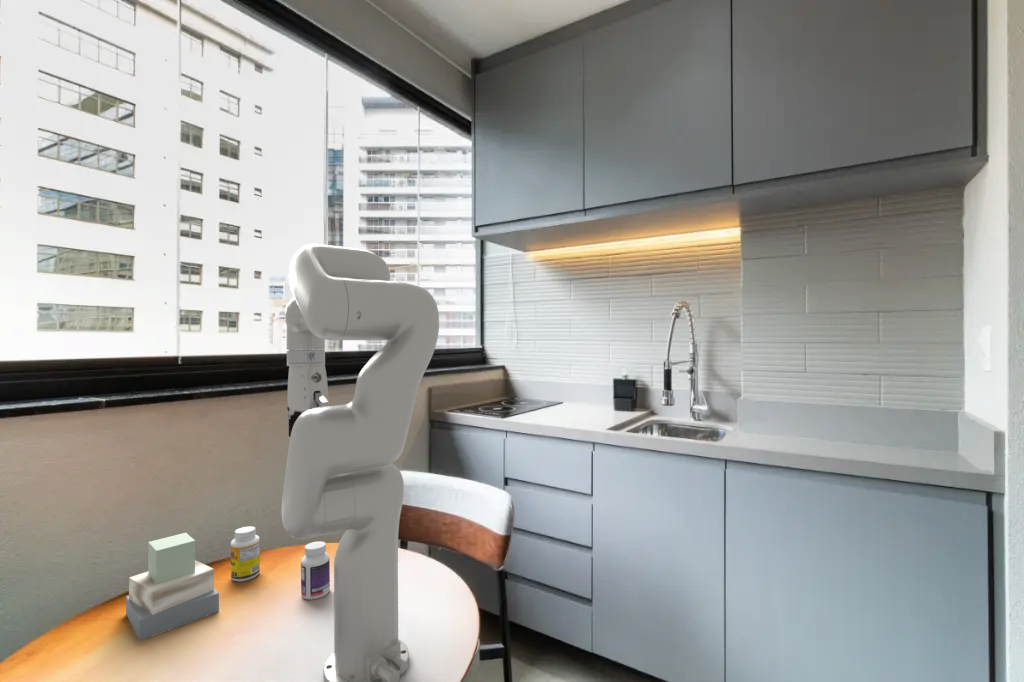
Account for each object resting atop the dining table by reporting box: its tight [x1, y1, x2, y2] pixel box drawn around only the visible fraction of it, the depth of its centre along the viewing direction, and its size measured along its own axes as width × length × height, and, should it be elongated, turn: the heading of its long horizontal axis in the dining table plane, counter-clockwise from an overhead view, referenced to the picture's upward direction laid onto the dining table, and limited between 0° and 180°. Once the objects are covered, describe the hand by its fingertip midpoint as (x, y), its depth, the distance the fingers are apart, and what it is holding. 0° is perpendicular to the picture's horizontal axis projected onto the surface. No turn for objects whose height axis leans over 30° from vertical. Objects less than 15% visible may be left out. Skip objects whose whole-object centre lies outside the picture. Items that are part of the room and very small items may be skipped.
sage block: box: [147, 532, 196, 584], centre depth 90 cm, size 6×6×6 cm
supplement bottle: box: [230, 525, 261, 583], centre depth 104 cm, size 6×6×10 cm
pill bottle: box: [300, 540, 331, 601], centre depth 96 cm, size 5×5×10 cm
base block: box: [125, 587, 220, 641], centre depth 90 cm, size 12×12×4 cm
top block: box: [128, 559, 215, 615], centre depth 90 cm, size 10×10×4 cm
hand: (306, 438), depth 101 cm, fingers open, 9 cm apart
